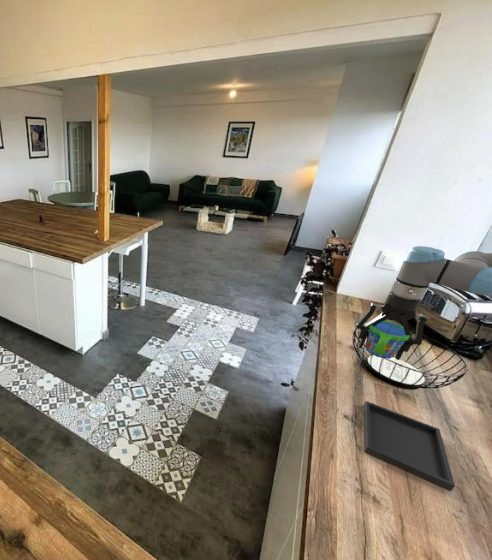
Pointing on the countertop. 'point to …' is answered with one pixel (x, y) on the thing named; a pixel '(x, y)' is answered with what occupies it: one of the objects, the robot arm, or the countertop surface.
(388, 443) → the dark grey tray
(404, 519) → the countertop surface
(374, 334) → the snack cup
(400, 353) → the robot arm
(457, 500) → the countertop surface
